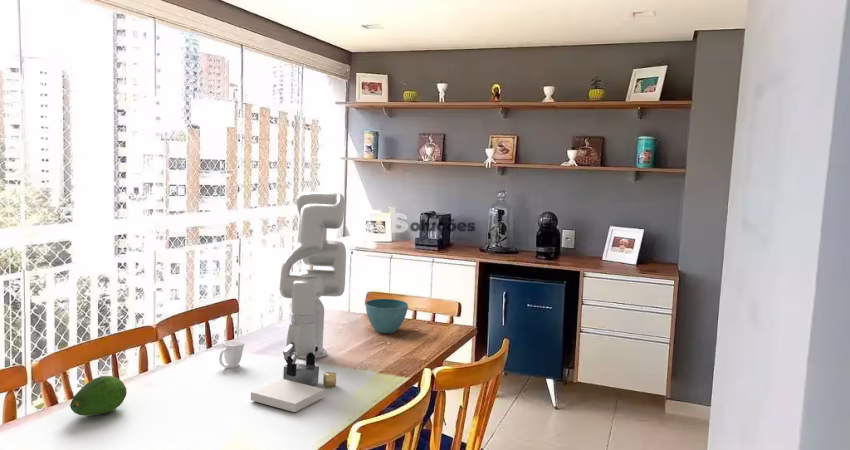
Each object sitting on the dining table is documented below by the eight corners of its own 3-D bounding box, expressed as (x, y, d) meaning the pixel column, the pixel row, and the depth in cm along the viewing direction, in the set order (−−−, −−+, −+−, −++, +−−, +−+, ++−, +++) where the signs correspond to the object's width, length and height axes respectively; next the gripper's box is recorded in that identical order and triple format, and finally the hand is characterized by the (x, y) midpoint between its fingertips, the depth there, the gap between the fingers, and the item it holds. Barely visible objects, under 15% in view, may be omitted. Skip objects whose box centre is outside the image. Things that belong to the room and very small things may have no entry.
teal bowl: (405, 338, 258) (407, 309, 257) (362, 335, 258) (363, 306, 257) (407, 327, 276) (408, 300, 275) (366, 324, 276) (368, 297, 275)
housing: (283, 383, 197) (283, 366, 197) (289, 379, 202) (290, 362, 201) (312, 388, 195) (312, 370, 194) (318, 383, 199) (318, 366, 199)
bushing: (320, 386, 196) (321, 374, 196) (327, 383, 200) (328, 371, 199) (331, 389, 194) (331, 376, 194) (338, 385, 198) (338, 373, 198)
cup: (248, 364, 213) (248, 341, 213) (228, 372, 204) (228, 349, 203) (231, 361, 216) (232, 338, 215) (211, 369, 207) (212, 345, 206)
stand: (250, 402, 180) (250, 392, 180) (281, 388, 193) (282, 378, 193) (294, 414, 173) (295, 403, 173) (323, 398, 186) (324, 389, 186)
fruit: (85, 428, 157) (86, 390, 156) (59, 420, 161) (59, 383, 160) (134, 408, 171) (135, 373, 170) (109, 401, 175) (109, 367, 174)
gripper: (310, 312, 206) (307, 363, 207) (275, 321, 190) (273, 376, 191) (328, 316, 202) (326, 367, 203) (295, 325, 187) (293, 380, 188)
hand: (301, 371), depth 197 cm, fingers open, 9 cm apart
